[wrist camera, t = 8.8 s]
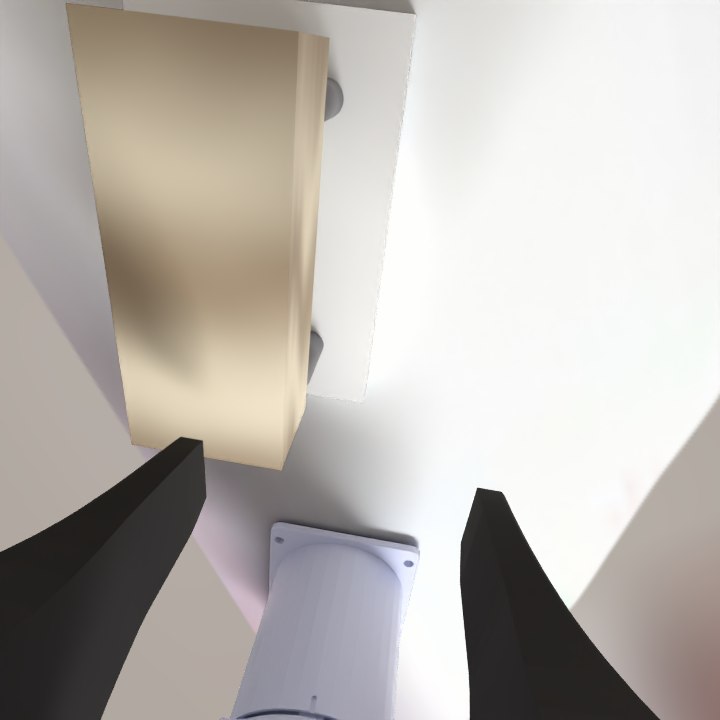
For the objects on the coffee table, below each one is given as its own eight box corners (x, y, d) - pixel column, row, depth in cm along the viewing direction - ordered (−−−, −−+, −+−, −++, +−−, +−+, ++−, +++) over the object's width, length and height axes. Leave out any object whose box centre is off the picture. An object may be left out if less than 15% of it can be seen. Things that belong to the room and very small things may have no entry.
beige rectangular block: (305, 408, 20) (281, 470, 17) (178, 386, 20) (131, 444, 17) (329, 37, 14) (298, 31, 11) (145, 15, 14) (65, 2, 11)
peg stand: (365, 390, 23) (355, 440, 20) (170, 359, 24) (131, 402, 21) (416, 16, 16) (411, 6, 13) (136, -17, 17) (69, -34, 14)
